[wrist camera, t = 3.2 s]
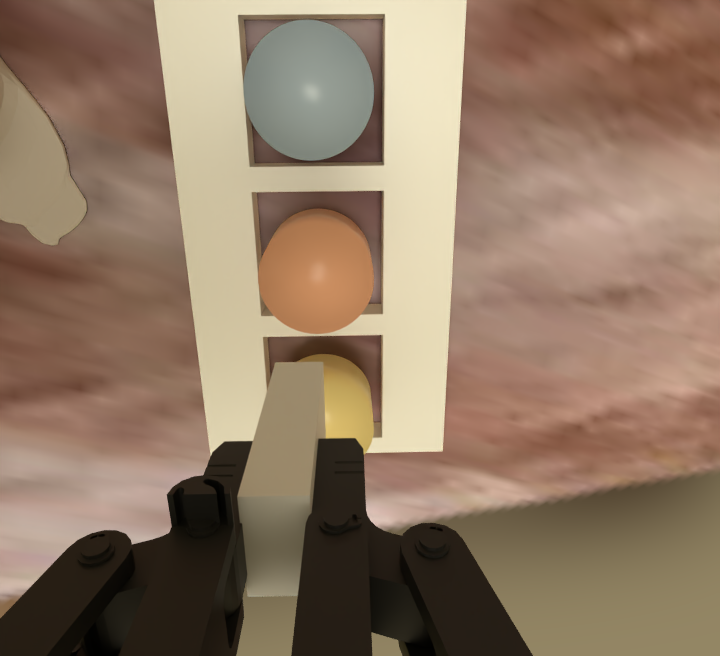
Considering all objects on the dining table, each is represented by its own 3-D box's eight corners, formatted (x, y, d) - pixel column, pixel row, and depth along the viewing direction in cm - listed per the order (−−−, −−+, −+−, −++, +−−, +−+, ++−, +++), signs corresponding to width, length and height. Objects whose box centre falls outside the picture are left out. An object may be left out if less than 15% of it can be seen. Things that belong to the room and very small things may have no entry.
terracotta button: (271, 309, 35) (262, 334, 31) (264, 209, 32) (253, 223, 29) (370, 307, 35) (373, 333, 31) (370, 207, 32) (373, 222, 29)
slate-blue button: (260, 153, 31) (248, 161, 27) (251, 29, 29) (237, 19, 25) (370, 152, 31) (373, 159, 28) (370, 29, 29) (374, 19, 25)
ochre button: (280, 437, 38) (273, 474, 34) (274, 354, 36) (266, 384, 32) (371, 435, 38) (373, 472, 34) (370, 353, 36) (373, 382, 32)
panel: (216, 439, 41) (210, 456, 39) (163, -5, 31) (152, -12, 29) (438, 435, 42) (442, 451, 40) (460, -7, 31) (467, -14, 29)
